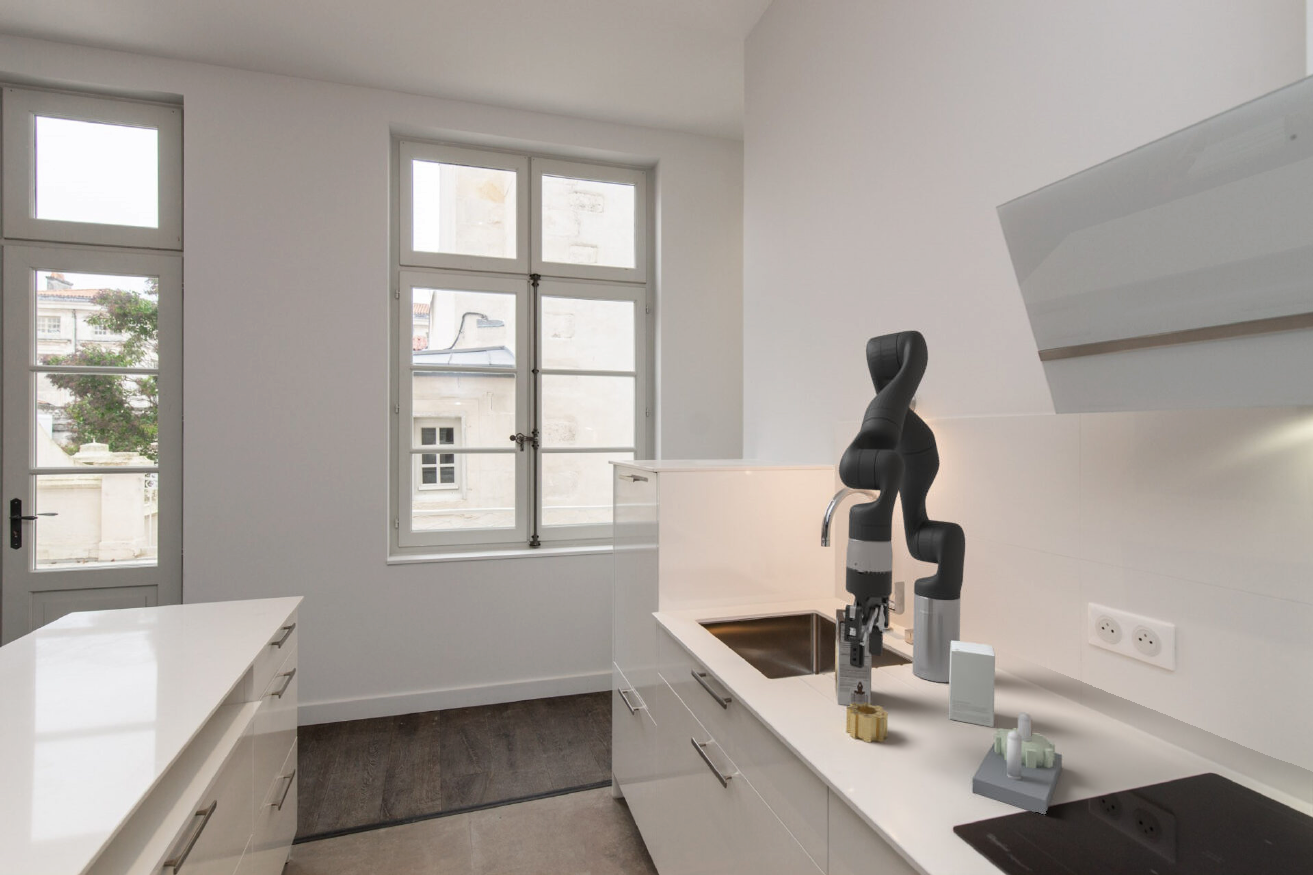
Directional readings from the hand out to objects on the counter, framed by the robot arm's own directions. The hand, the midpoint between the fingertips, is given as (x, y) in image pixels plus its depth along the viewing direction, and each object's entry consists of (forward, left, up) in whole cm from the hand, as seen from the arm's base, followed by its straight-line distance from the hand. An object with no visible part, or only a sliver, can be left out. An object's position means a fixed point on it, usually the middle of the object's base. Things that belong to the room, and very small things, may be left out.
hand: (866, 660), depth 111 cm
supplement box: (-20, +12, -13) cm, 27 cm away
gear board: (0, +23, -12) cm, 26 cm away
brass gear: (0, 0, -12) cm, 12 cm away
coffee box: (-14, -8, -13) cm, 20 cm away
